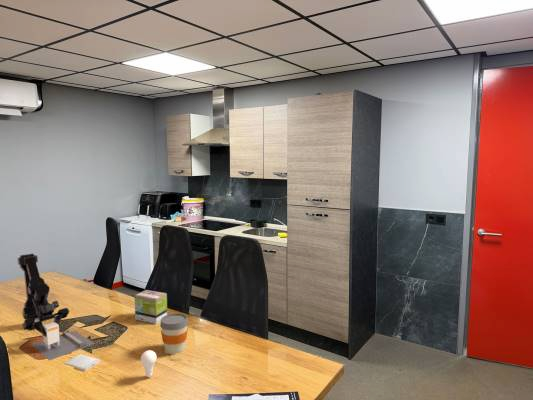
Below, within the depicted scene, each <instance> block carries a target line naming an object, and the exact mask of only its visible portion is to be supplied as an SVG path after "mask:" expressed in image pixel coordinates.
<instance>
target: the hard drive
mask: <svg viewBox="0 0 533 400" xmlns="http://www.w3.org/2000/svg"><path fill="white" fill-rule="evenodd" d="M101 362H102V361H101V359H98V358H96V357H91V356H87V355H84V354H77V355H75V356H74V357H72V358H70V359H68V360H67V361H65V362H64V365H68V366H72V367H73V368H74V369H77V370H81V371H84V372H87V371H89V370H90V369H92V368H93V367H95V366H96V365H98V364H99V363H101Z"/></svg>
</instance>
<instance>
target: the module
mask: <svg viewBox="0 0 533 400" xmlns="http://www.w3.org/2000/svg"><path fill="white" fill-rule="evenodd" d="M43 327H44V329H45V332H46V335H47V336H46V337H45V336H44V335H43V334H42V336H43V341H44V346H45V347H46V348H47V349H50V344H53V343H54V344H56V345H57V346H59V345H60V340H59V336H60V324H59V325H58V324H57V323H55V322H54V321H53V322H50V323H46V324H43Z"/></svg>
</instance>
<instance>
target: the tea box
mask: <svg viewBox="0 0 533 400" xmlns="http://www.w3.org/2000/svg"><path fill="white" fill-rule="evenodd" d="M134 315H135V316H134V317H135V320H136V321H141V322H145V323H148V324H149V323H150V324H152V325H153V324H154V325H158V324H159V323H161V319H162V318H163V317H164V316H166V315H168V294H167V292H162V291H161V292H160V291H156V290H155V291H154V290H148V289H144V290H143V291H141V292H139V293H137V294H134Z"/></svg>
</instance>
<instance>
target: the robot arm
mask: <svg viewBox="0 0 533 400" xmlns="http://www.w3.org/2000/svg"><path fill="white" fill-rule="evenodd" d="M38 258H39V257H38V255H37V254H35V255H34V253H28V254H21V255H19V257H17V265H19V269H21V270H22V271H23V274H24V275H23V276H24V282H25V283H24V284H25V291H26V294H25V295H26V300H25V302H24V303H23V306H24V307H23V309H22V313H21V314H22V319H24V321H23V324H22V328H23V330H24V331H25V330H29V331H33V330H36V331H38V332H39V333H40V334H41V335H42V336H43V335H44V336H45V337H46V336H47V335H46V332H45V329H44V327H43V325H44V324H43V322H46V321H49V320H52V319H53V322H55V323H57V324H58V325H59V326H60V322H61V320H63V319H66V318H67V317H68V315H69V314H70V309H69V308H67V307H64V308H60V309H58V311H57V312H55V310H56V309H57V308H59V307H60V304H59V301H58V300H54V301H52V302H51V303H50V302H49V301H48V298H49V295H50V286H49V285H48V284H47V283H46V282H45V280H44V278H42V277H41V275H40V272H39V268H38V264H37V263H38V262H39V261H38V260H39V259H38Z"/></svg>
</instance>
